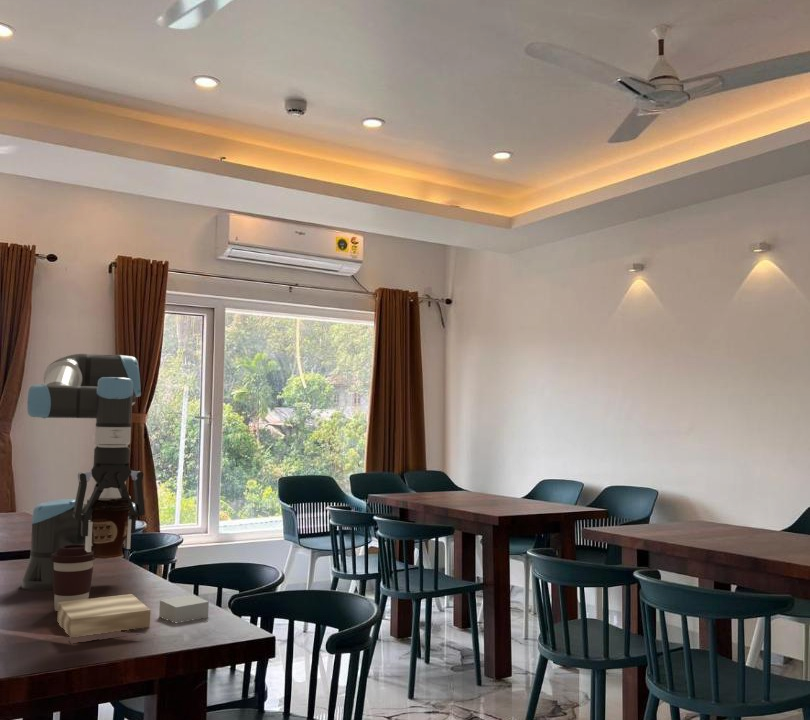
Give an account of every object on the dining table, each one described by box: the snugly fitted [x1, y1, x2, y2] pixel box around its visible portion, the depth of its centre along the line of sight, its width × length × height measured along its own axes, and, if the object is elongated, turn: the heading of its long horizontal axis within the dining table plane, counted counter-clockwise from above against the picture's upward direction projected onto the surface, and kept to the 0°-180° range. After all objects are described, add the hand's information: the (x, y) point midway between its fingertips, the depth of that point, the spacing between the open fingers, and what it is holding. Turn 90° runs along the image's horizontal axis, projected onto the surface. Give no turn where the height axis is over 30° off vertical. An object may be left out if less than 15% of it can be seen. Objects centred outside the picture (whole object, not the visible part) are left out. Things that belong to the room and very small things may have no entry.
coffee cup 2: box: [91, 498, 131, 560], centre depth 169 cm, size 9×8×13 cm
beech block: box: [56, 593, 151, 638], centre depth 168 cm, size 16×16×5 cm
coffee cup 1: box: [51, 544, 97, 612], centre depth 184 cm, size 10×10×15 cm
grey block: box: [158, 594, 210, 623], centre depth 175 cm, size 8×8×5 cm
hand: (107, 549), depth 170 cm, fingers closed on coffee cup 2, 7 cm apart
